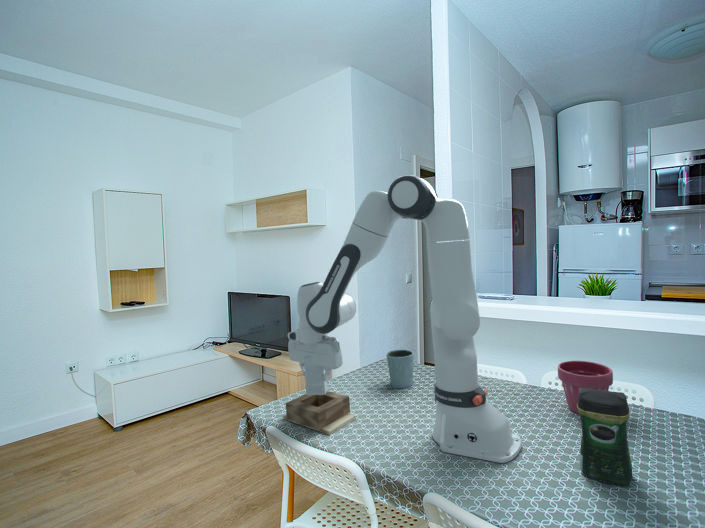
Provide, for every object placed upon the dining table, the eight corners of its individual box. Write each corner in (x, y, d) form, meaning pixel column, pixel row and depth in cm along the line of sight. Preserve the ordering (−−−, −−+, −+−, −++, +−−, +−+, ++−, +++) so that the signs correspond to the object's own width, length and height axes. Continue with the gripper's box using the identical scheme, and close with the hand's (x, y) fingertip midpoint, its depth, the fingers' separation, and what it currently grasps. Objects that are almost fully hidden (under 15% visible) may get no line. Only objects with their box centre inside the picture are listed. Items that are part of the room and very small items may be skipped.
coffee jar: (632, 471, 84) (629, 388, 83) (633, 491, 78) (630, 401, 77) (581, 459, 90) (578, 381, 89) (577, 477, 83) (574, 393, 82)
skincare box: (327, 390, 121) (325, 352, 121) (325, 395, 117) (323, 356, 116) (308, 390, 122) (306, 353, 121) (305, 395, 118) (303, 357, 117)
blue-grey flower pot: (419, 381, 147) (417, 350, 146) (408, 390, 138) (406, 358, 137) (395, 378, 152) (393, 348, 151) (383, 386, 143) (381, 355, 143)
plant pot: (604, 424, 105) (602, 379, 104) (551, 410, 116) (549, 368, 115) (620, 408, 114) (619, 366, 114) (570, 396, 125) (568, 357, 124)
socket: (357, 417, 119) (356, 398, 119) (327, 436, 108) (326, 415, 108) (311, 403, 131) (310, 386, 131) (280, 419, 121) (279, 401, 120)
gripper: (345, 335, 115) (348, 381, 115) (298, 329, 127) (300, 370, 128) (331, 340, 110) (334, 387, 110) (283, 333, 122) (286, 375, 123)
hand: (315, 378), depth 119 cm, fingers closed on skincare box, 7 cm apart
